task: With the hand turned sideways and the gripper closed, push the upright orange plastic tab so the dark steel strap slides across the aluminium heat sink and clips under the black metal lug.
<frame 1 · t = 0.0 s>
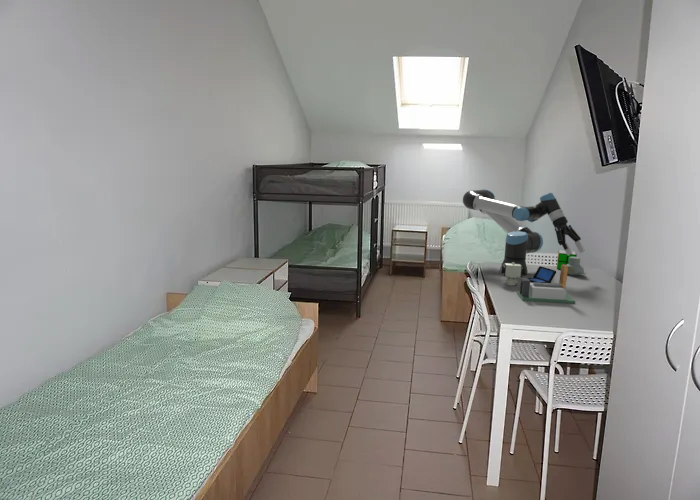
hand: (576, 253, 296), 15 cm above the table, tool tilted 35°, fingers open, 13 cm apart
pneumatic valve: (511, 285, 284), on the table
air freshener: (572, 274, 314), on the table
handheld game console: (539, 282, 293), on the table
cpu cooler: (545, 298, 260), on the table
puzzle cube: (565, 268, 330), on the table
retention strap: (549, 275, 257), point 12 cm above the table, slide at 0.0 cm
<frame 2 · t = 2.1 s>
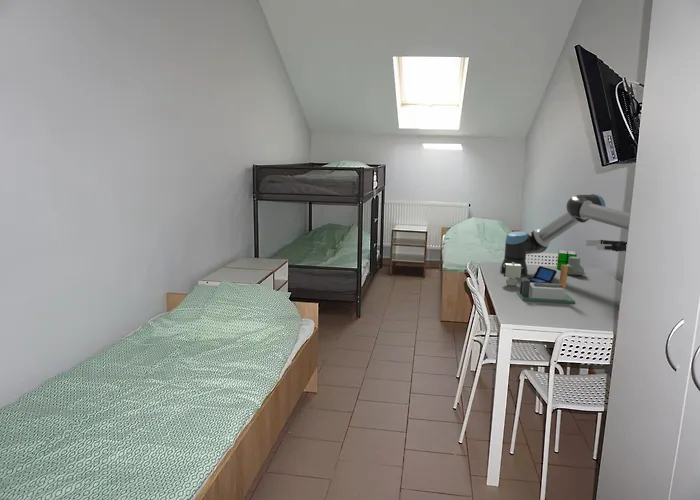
hand: (591, 245, 254), 27 cm above the table, tool horizontal, fingers open, 13 cm apart
nothing on the table moved.
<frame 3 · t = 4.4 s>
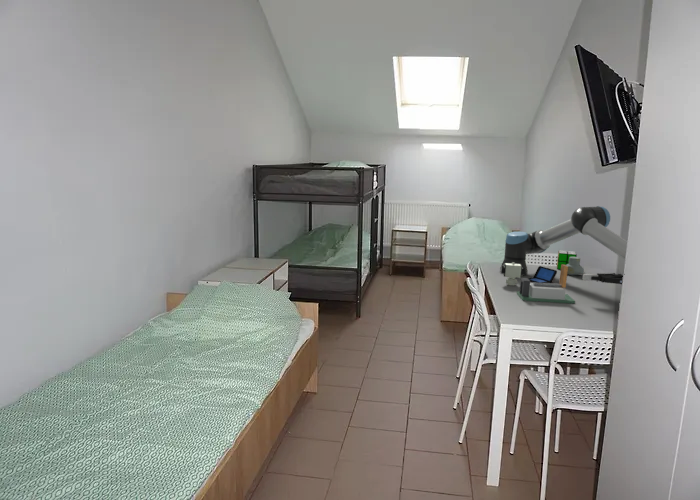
hand: (583, 276, 256), 12 cm above the table, tool horizontal, fingers closed
nothing on the table moved.
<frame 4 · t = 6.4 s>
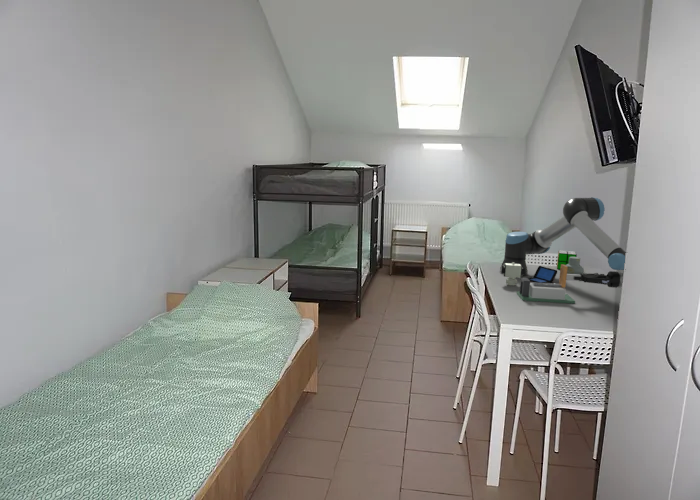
hand: (566, 276, 256), 11 cm above the table, tool horizontal, fingers closed
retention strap: (549, 275, 257), point 12 cm above the table, slide at 0.2 cm, touching gripper
everything else where it was.
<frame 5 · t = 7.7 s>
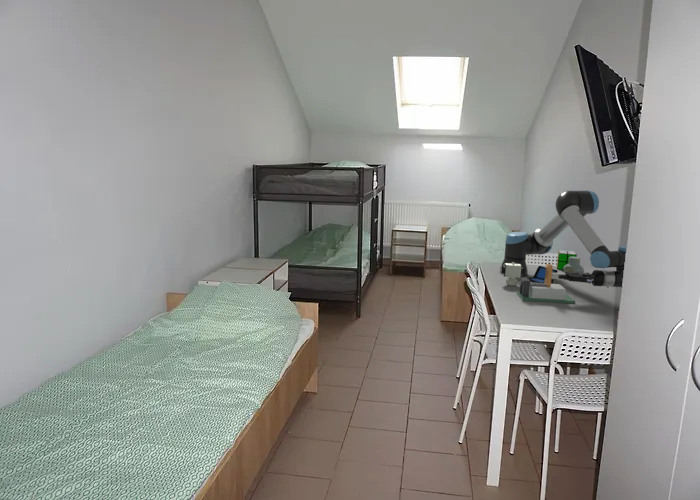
hand: (550, 275, 257), 11 cm above the table, tool horizontal, fingers closed
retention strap: (534, 274, 258), point 12 cm above the table, slide at 6.9 cm
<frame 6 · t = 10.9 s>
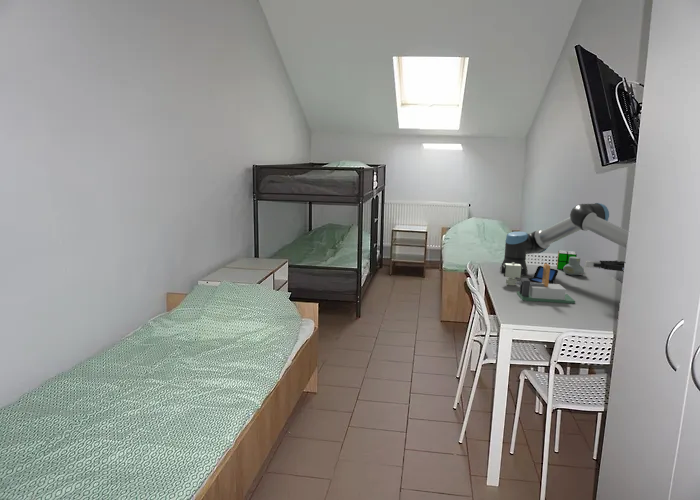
hand: (585, 263, 255), 18 cm above the table, tool horizontal, fingers closed
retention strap: (532, 274, 258), point 12 cm above the table, slide at 8.0 cm
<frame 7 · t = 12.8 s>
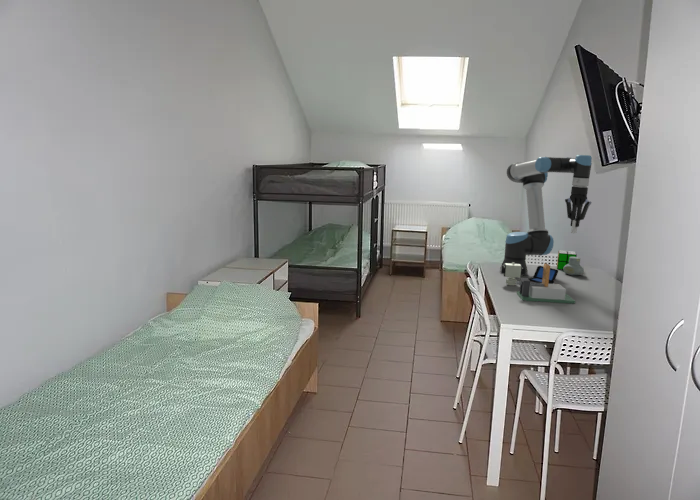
hand: (573, 232, 276), 29 cm above the table, tool pointing down, fingers closed
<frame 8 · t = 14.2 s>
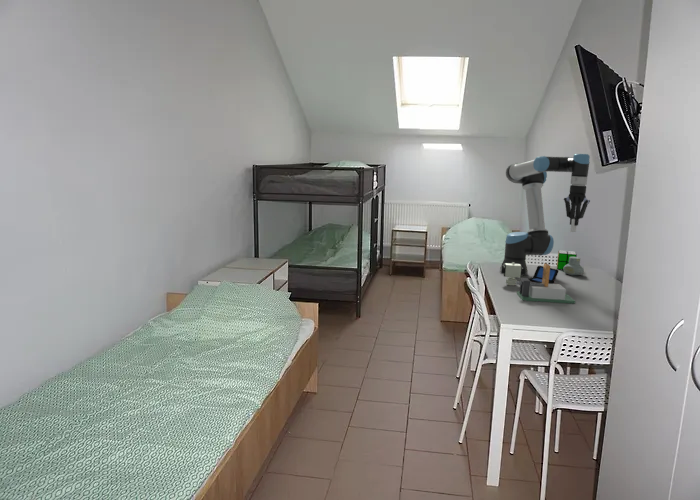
hand: (573, 231, 277), 29 cm above the table, tool pointing down, fingers closed
at the end: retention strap slide at 8.0 cm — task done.
